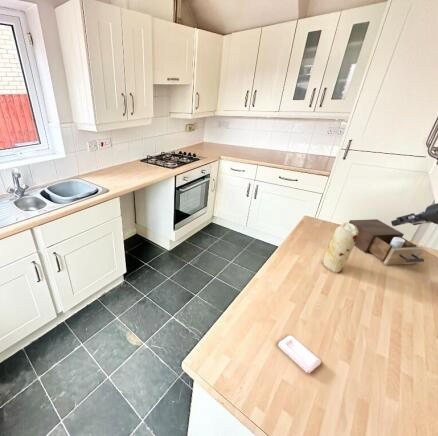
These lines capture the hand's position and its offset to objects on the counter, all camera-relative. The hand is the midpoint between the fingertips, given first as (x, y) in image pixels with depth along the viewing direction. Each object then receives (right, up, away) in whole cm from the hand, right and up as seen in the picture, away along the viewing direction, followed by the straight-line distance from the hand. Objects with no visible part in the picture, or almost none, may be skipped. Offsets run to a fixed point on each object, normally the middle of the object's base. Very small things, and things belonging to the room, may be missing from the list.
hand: (402, 223), depth 99 cm
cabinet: (0, -10, +16) cm, 19 cm away
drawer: (0, -15, +5) cm, 16 cm away
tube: (0, -14, +5) cm, 15 cm away
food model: (-28, -19, +2) cm, 33 cm away
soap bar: (-62, -37, -31) cm, 79 cm away
